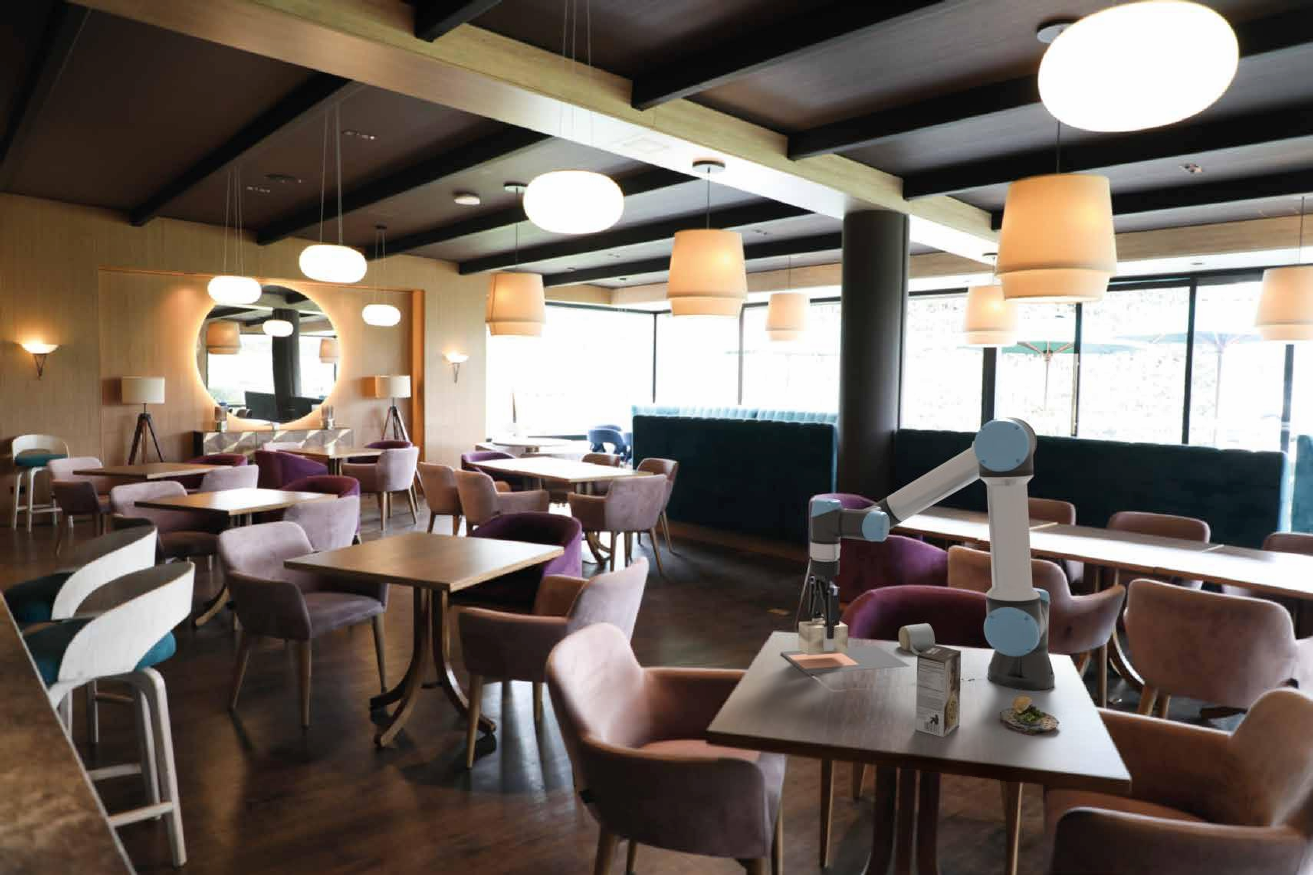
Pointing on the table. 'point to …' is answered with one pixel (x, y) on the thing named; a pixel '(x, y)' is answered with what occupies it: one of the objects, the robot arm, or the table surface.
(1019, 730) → the plate of food
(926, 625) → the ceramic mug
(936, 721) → the coffee box
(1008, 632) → the robot arm
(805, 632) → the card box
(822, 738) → the table surface
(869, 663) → the mat
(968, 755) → the table surface
